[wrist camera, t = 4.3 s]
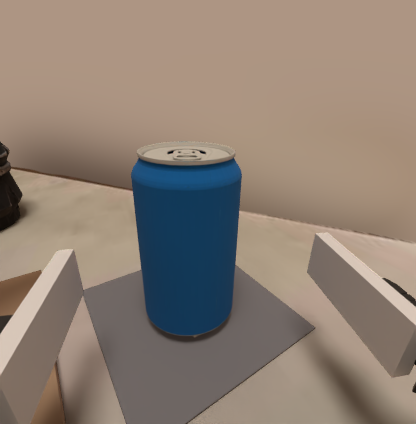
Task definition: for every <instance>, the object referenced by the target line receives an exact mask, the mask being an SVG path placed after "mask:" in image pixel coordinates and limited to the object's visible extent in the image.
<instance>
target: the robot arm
mask: <svg viewBox="0 0 416 424" xmlns="http://www.w3.org/2000/svg"><path fill="white" fill-rule="evenodd" d="M307 273H308V274H309V275H310V276H311V278H312V279H313V280H314V281H315V283H316V284H317V285H318V286H319V288H320V289H321V290H322V291H323V293H324V294H325V295H326V296H327V298H328V299H329V300H330V301H331V303H332V304H333V305H334V306H335V308H336V309H337V310H338V311H339V312H340V314H341V315H342V316H343V317H344V319H345V320H346V321H347V322H348V324H349V325H350V326H351V327H352V329H353V330H354V331H355V332H356V334H357V335H358V336H359V337H360V339H361V340H362V341H363V342H364V344H365V345H366V346H367V347H368V349H369V350H370V351H371V352H372V354H373V355H374V356H375V357H376V358H377V360H378V361H379V362H380V363H381V365H382V366H383V367H384V368H385V370H386V371H387V372H388V373H389V375H390V376H391V377H398V376H404V375H409V374H410V372H411V370H412V368H413V366H414V364H415V365H416V301H415V299H414V298H413V297H412V296H411V295H409V294H407V292H406V291H404V290H403V289H402V288H401V287H400V286H398V285H397V284H395V283H393V282H391V281H390V280H388V279H386V278H381V277H380V276H378V275H377V274H376V273H375V272H374V271H373V270H371V269H370V268H369V267H368V266H367V265H365V264H364V263H363V262H362V261H361V260H360V259H358V258H357V257H356V256H355V255H354V254H352V253H351V252H350V251H349V250H348V249H347V248H345V247H344V246H343V245H342V244H341V243H339V242H338V241H337V240H336V239H335V238H333V237H332V236H331V235H330V234H329V233H315V238H314V243H313V247H312V252H311V256H310V261H309V266H308V270H307ZM83 293H84V291H83V287H82V282H81V278H80V274H79V269H78V265H77V261H76V256H75V252H74V249H68V250H57V252H56V253H55V255H54V256H53V257H52V259H51V260H50V262H49V263H48V265H47V266H46V268H45V269H44V271H43V272H42V274H41V275H40V277H39V278H38V279H37V281H36V282H35V284H34V285H33V287H32V288H31V290H30V291H29V293H28V294H27V296H26V297H25V299H24V300H23V301H22V303H21V304H20V306H19V307H18V309H17V310H16V312H15V313H14V315H4V316H0V424H30V423H31V421H32V419H33V416H34V414H35V411H36V409H37V406H38V404H39V401H40V399H41V396H42V394H43V391H44V389H45V386H46V384H47V382H48V379H49V377H50V374H51V372H52V369H53V367H54V364H55V362H56V359H57V357H58V354H59V352H60V349H61V347H62V344H63V342H64V340H65V337H66V335H67V332H68V330H69V327H70V325H71V322H72V320H73V317H74V315H75V312H76V310H77V307H78V305H79V303H80V300H81V298H82V295H83ZM412 392H414V393H416V383H415V385H414V386H413V390H412Z"/></svg>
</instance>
